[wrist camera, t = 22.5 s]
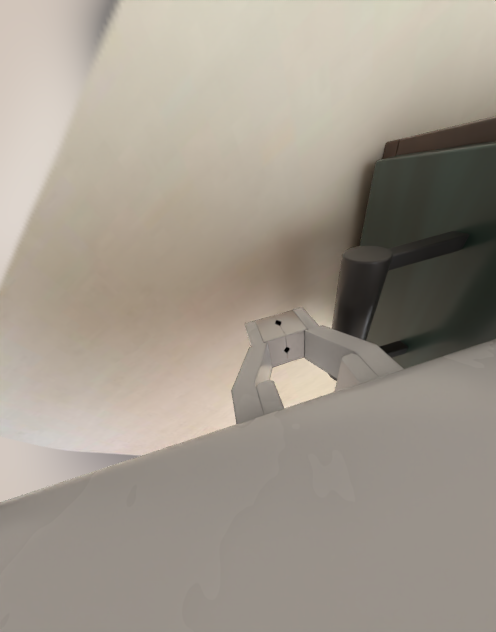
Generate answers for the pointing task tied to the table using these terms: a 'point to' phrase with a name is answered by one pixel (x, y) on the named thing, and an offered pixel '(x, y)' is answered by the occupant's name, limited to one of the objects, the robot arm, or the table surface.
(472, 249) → the drawer
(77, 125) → the table surface
